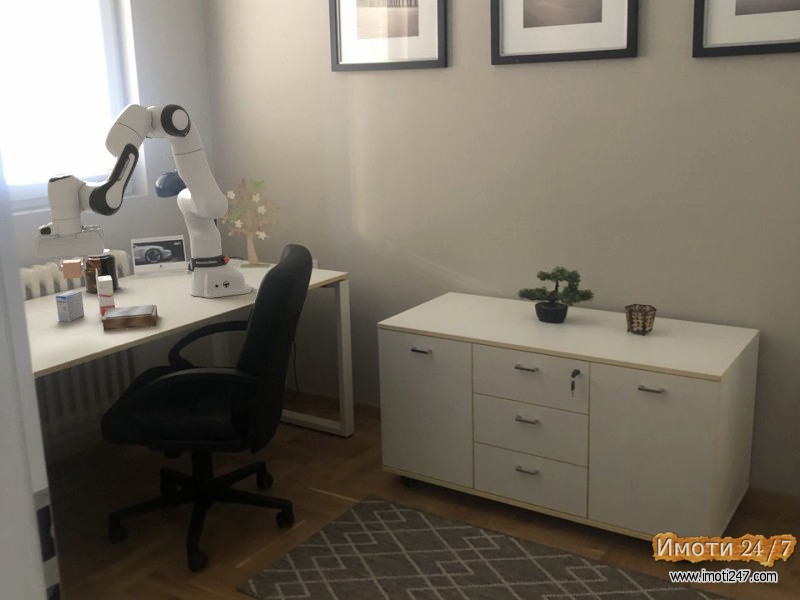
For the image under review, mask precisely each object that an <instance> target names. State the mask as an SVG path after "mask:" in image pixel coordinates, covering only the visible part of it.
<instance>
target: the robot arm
mask: <svg viewBox="0 0 800 600" xmlns="http://www.w3.org/2000/svg"><path fill="white" fill-rule="evenodd" d="M165 138H166V139H167V140H168V141H169V143H170V148H171V152H172V156H173V159H174V162H175V166H176V172H177V175H178V176H179V178H180V179H181V180H182V182H183V183H184V185H185V187H186V188H184V189H182V190H181V191H179V193H178V195H177V200H176V201H177V202H176V203H177V206H178V208H179V209H180V212H181V213H182V215H183V216H182V217H183V219H184V222H185V225H186V229H187V231H188V236H189V243H190V244H189V245H190V252H191V253H190V254H191V256H190V259H189V260H190V270H191V272H192V273H191V274H192V275H191V286H190V287H191V288H190V291H189V292H190V293H189V294H190V295H191V296H194V297H202V298H205V299H214V298H219V297H220V298H221V297H229V296H236V295H244V294H249V293H251V292H252V290H253V289H252V285H250V284H249V283H246V279H245V276H244V274H243V272H242V271H240V270H238V269H237V268H236V267H234V266H233V265H231V264H229V262H230V257H229V256H228V255H227V254H224V253H223V250H222V238H221V233H220V230H219V229H218V227H217V226H216V225H217V224H216V223H215V220H217V219H221V218H222V217H223V216H225V215H226V213H227V211H228V209H229V200H228V198H227V196H226V195H225V194H224V193H223V192H222V190H221V189H220V187H219V185H218V183H217V181H216V180H215V177H214V175H213V173H212V171H211V168H210V166H209V162H208V158H207V154H206V150H205V147H204V143H203V140H202V137H201V135H200V132H199V130H198V128H197V125H196V124H195V122H194V121H192V120H191V119H190V115H189V113H188V112H187V110H186V109H185V108H184V107H183V106H181V105H178V104H173V103H171V104H157V105H153V106H150V107H149V106H147V107H145V106H143V105H141V104H139V103H130V104H128V105H127V106H125V108H124V109H122V110H121V111H120V113H119V114H118V115H117V116H116V118H115V120H114V121H112V123H111V125H110V127H109V128H108V130H107V131H106V134H105V137H104V146H105V147H106V149H107V151H108V152H109V154H111V156H113V158H115V162H114V164H113V166H112V168H111V171H110V173H109V174H108V176H107V177H108V178H106V179H105V181H102V182H90V181H89V182H88V181H85V180H82V179H80V178H78V177H76V176H75V175H74V174H72V173H61V174H56V175H54V176H51V178H49V179H48V182H47V198H48V199H47V200H48V205H49V208H50V213H51V214H50V222H48V223H45V224H44V225H40V226H39V227H38V228H37V229H36V234H37V237H36V239H35V240H34V241H35V242H34V253H35V257H36V258H37V259H39V260H40V259H51V258H52V259H53V262H54V263H55V264H56V265H57V267H58V271H59V272H63V267H62V263H61V262H60V261H59V260H60V258H66V257H67V258H69V257H82V260H83V259H85V261H84V263H83V262H81V264H80V267H81V270H82V271H84V270H86V262H87V260H88V258H89V257H88V255H100V254H102V253H103V252H104V249H105V244H104V241H103V239H104V230H103V228H102V227H101V226H98V225H96V224H94V225H93V224H92V225H83V222H82V214H81V213H88V214H95V215H96V214H98V215H101V216H104V217H105V216H107V217H109V216H110V217H111V216H114V215H115V214H116V213H118V212H119V211H120V209H121V207H122V205H123V202H124V197H125V192H126V189H127V187H128V184H129V182H130V180H131V178H132V176H133V173H134V171H135V169H136V167H137V163H138V162H139V159H140V157H139V156H140V153H139V151H140V148H141V147H142V144H143V143H144V140H145V139H165Z"/></svg>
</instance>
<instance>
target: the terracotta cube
mask: <svg viewBox="0 0 800 600" xmlns="http://www.w3.org/2000/svg"><path fill="white" fill-rule="evenodd" d="M80 264H82V259H80V258H79V259H67V260H63V261H62V263H61V265H62V267H63V271H62V272H63V273H62V274H63V280H70V279H81V278H82V277H83V276H84V271H83V270H81V267H80Z"/></svg>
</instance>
